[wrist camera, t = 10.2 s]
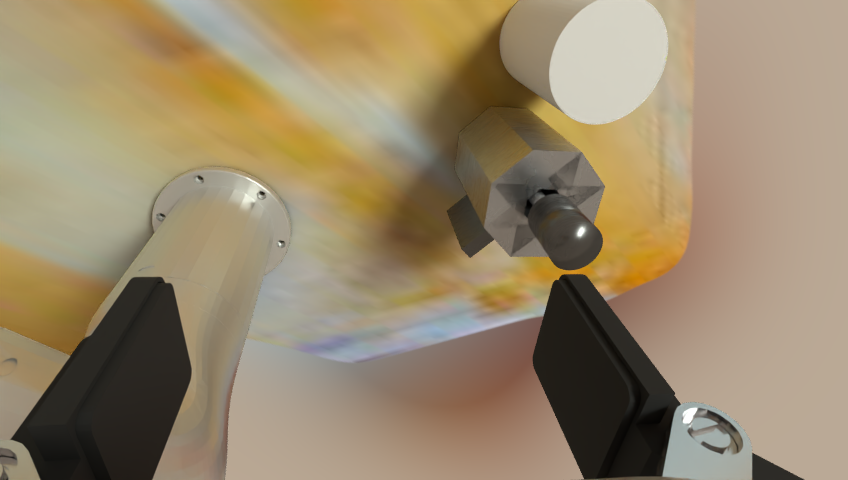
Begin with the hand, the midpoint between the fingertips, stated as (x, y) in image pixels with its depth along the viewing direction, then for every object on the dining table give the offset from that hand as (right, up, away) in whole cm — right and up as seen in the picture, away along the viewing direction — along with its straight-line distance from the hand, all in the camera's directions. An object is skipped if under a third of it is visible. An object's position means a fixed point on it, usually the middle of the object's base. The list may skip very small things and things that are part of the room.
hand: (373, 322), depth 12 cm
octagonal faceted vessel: (+8, +10, +34) cm, 37 cm away
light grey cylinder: (+12, +20, +29) cm, 37 cm away
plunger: (+9, +10, +33) cm, 36 cm away
